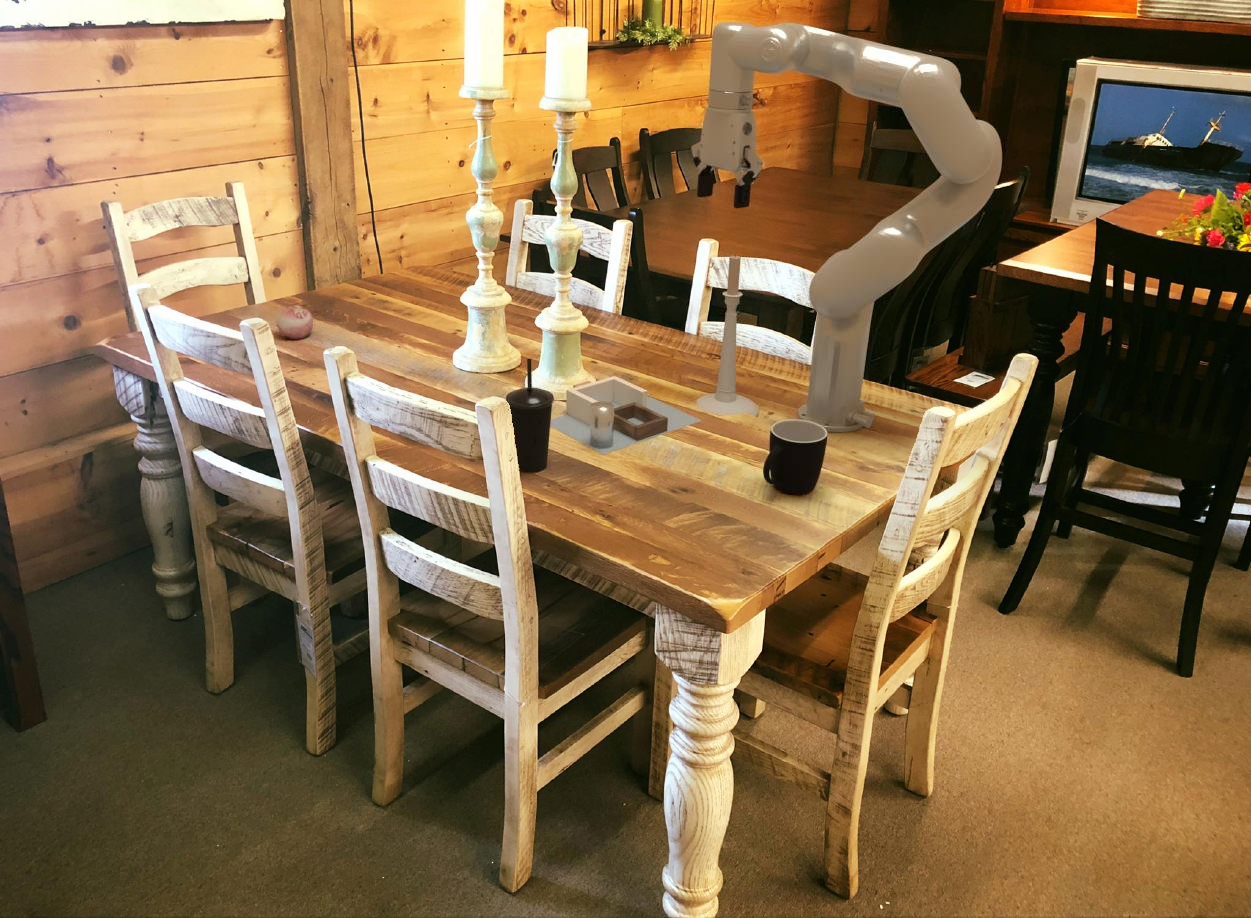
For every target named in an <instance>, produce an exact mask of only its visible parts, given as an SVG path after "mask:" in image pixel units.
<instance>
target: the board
mask: <svg viewBox="0 0 1251 918" xmlns="http://www.w3.org/2000/svg"><path fill="white" fill-rule="evenodd" d="M611 403H612V404H613V405H614V408H617V407H620V406H622V405H620V404H617V403H615V402H611ZM647 408H648V409H650V410H652V411H654V412H656V413H658V414H661V415H663V416H665V417H667V418H668V427H667V431H666V432H663V433H660V434H657V435H654V436H651V437H648V438H645V439H642V440H639V441H636V440H634V439H632V438H630V437H628V436H626V435H624V434H622V433H620V432H618V431H616V430H614V438H613V446H611V447H609V448H605V449H600V448H595V447H592V446H591V445H590V425H589V424H587V423H585V422H583V421H581V420H579V419H577V418H575V417H574V416H572V415H570V414H568V413H566V414H564V415H560V416H557V417H555V418H551V423H550V428H553V429H555V430H557V431H559V432H560V433H563V434H564V435H566V436H567V437H570V438H571V439H573V440H575V441H578V442H579V443H581V444H583V445H585V446H586V447H587V448H590V449H592V450H594V451H596V452H597V453H599V454H602V455H606V454H610V453H613V452H616V451H619V450H622V449H624V448H627V447H630V446H633V445H636V444H639V443H641V442H645V441H647V440H650V439H653V438H656V437H659V436H662V435H664V434H668V433H670V432H673V431H676V430H680V429H682V428H686V427H688V426H691V425H694V424H696V423H700V422H702V420H701V419H699V418H697V417H695V416H693V415H691V414H689V413H686V412H685V411H682V410H679V409H677V408H676V407H673V406H671V405H668V404H667V403H665V402H663V401H660V400H658V399H656V398H654V397H651V396H649V395H647ZM627 420H629V421H631V422H633V423H635V424H637V425H640V424H643V423H644V422H642V421H640V420H638V419H636V418H631V419H627Z"/></svg>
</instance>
